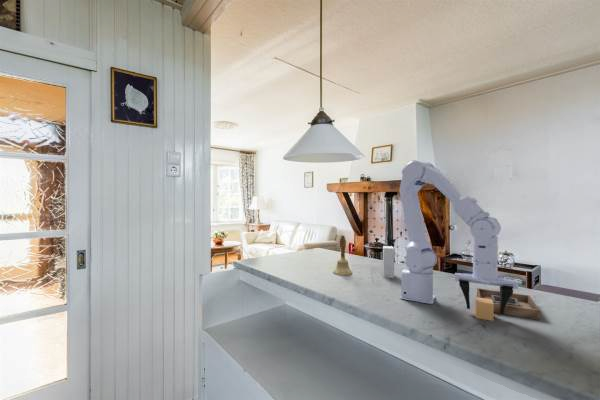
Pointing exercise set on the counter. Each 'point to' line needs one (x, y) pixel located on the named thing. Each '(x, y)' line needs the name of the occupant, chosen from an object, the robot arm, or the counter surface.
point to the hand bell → (342, 260)
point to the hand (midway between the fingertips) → (484, 310)
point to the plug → (484, 308)
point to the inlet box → (512, 304)
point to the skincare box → (388, 261)
